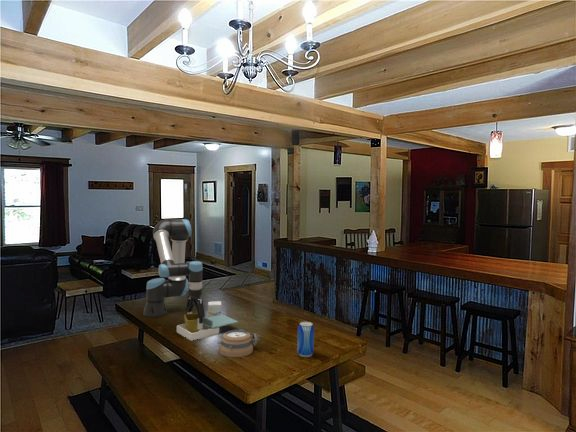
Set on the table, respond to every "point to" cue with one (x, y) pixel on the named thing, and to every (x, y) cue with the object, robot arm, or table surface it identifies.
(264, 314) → the table surface
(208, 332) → the white square tray
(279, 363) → the table surface
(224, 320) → the lid
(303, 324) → the beer can
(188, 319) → the flower pot
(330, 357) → the table surface
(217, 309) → the ink box
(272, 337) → the table surface
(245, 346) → the alarm clock
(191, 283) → the robot arm
